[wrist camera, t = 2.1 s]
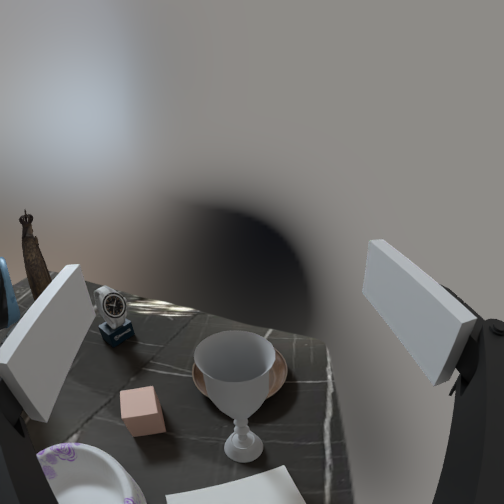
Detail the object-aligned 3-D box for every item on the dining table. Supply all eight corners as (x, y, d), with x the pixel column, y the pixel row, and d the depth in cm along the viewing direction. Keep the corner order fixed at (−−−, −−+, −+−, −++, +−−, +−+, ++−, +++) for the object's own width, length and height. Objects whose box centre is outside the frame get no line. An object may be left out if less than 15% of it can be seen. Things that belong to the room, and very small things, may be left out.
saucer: (212, 343, 53) (210, 332, 52) (292, 355, 50) (293, 343, 49) (180, 402, 40) (176, 392, 39) (277, 422, 37) (278, 412, 36)
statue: (63, 299, 65) (33, 207, 54) (41, 313, 59) (6, 220, 48) (52, 290, 69) (25, 205, 58) (32, 302, 64) (1, 216, 53)
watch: (118, 352, 49) (101, 303, 45) (98, 334, 54) (82, 288, 49) (140, 338, 54) (127, 290, 49) (119, 322, 58) (106, 277, 53)
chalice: (275, 431, 35) (280, 334, 28) (266, 472, 29) (268, 388, 22) (223, 422, 37) (207, 326, 29) (209, 461, 31) (182, 373, 23)
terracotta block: (133, 437, 33) (121, 418, 31) (130, 411, 37) (119, 391, 35) (166, 432, 35) (157, 412, 33) (161, 406, 39) (153, 385, 37)
